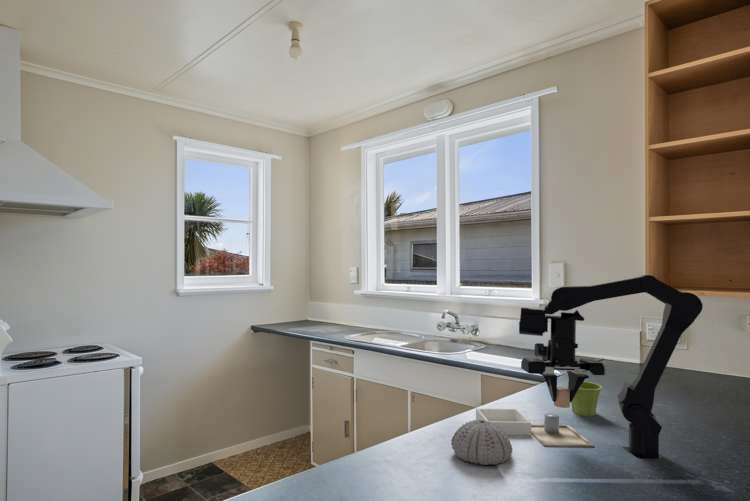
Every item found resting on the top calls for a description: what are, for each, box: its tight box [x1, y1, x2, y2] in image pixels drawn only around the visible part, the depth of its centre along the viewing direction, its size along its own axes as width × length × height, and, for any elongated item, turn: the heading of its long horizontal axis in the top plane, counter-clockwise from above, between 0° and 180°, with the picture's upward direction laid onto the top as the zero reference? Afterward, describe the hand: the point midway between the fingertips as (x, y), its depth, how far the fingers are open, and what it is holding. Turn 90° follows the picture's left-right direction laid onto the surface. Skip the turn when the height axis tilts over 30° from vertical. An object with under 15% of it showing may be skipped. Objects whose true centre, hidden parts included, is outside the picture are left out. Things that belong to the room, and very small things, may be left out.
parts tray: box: [531, 423, 595, 448], centre depth 117 cm, size 14×12×1 cm
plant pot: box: [566, 381, 603, 417], centre depth 137 cm, size 9×9×9 cm
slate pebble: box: [543, 412, 560, 434], centre depth 121 cm, size 4×4×4 cm
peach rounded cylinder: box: [553, 386, 571, 409], centre depth 114 cm, size 4×4×4 cm
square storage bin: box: [475, 407, 532, 436], centre depth 123 cm, size 11×11×4 cm
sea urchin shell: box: [450, 419, 513, 466], centre depth 105 cm, size 13×14×8 cm
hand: (561, 401), depth 114 cm, fingers closed on peach rounded cylinder, 4 cm apart
